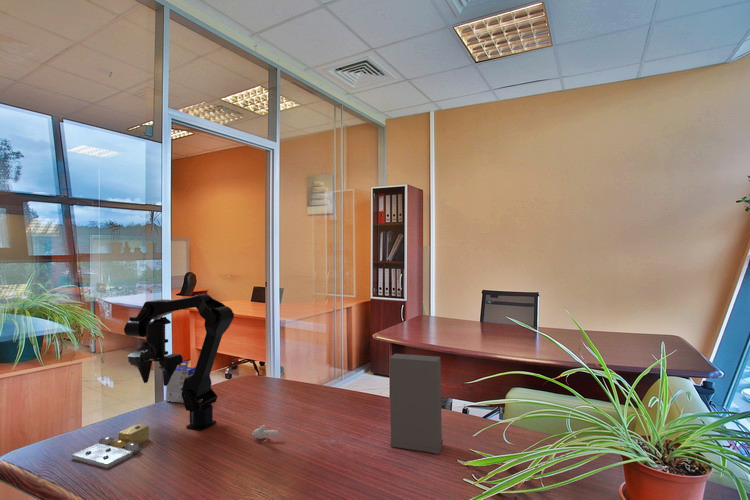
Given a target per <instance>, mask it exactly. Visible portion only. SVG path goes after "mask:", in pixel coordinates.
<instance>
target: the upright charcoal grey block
mask: <svg viewBox="0 0 750 500" xmlns="http://www.w3.org/2000/svg"><path fill="white" fill-rule="evenodd" d="M441 365H442V364H441V356H433V355H421V354H420V355H419V354H408V353H407V354H406V353H394V354H392V355H391V356H390V357H389V397H390V401H389V402H390V403H389V404H390V407H389V408H390V441H389V442H390V443H389V445H390V447H391V448H399V449H407V450H410V451H412V450H413V451H419V452H426V453H431V454H434V455H439V454H440V453H441V451H442V447H443V444H444V439H443V436H442V435H443V432H442V431H443V430H442V427H443V426H442V425H443V424H442V379H441V378H442V375H441V374H442V371H441V367H442V366H441Z"/></svg>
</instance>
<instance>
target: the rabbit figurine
mask: <svg viewBox="0 0 750 500" xmlns="http://www.w3.org/2000/svg"><path fill="white" fill-rule="evenodd" d="M279 433H280V432H279V431H278V430H276V429H268V430H266V424H262V425H260V426H259V427H258V428H256V429H254V431H253V432H251V433H250V435H251V436H253V437H255V438H257V439H259V440H262V439H265V438H266V437H267V436H269V437H273V436H277V435H278V434H279ZM267 441H268V438H267V439H265V440H263V441H262V442H263V443H264V442H267Z"/></svg>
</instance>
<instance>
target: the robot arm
mask: <svg viewBox="0 0 750 500" xmlns="http://www.w3.org/2000/svg"><path fill="white" fill-rule="evenodd" d="M192 308H193V309H194V308H195V309H197V311H198V314H199V316H200V317H201V318H203V319H204V325H203V326H204V329H205V332H206V333H205V336H204V339H203V342H202V346H201V349H200V352H199V356H198V359H197V362H196V365H195V367H196V368H195V371H194V374H193V375H192V376H190V377H187V378H185V380H184V383H183V387H182V389H181V391H182V394H181V395H182V398H183V401H184V403H183V404H184V408H185V410H186V411H189V424H187V425H186V429H192V430H197V431H203V430H205V429H207V428H209V427H211V426H213V425H214V424H216V423H217V420H214V419H213V410H214V409H213V404H214V403H216V402H217V399H218V395H217V393H216V392H215V391H214V390H213V389H212V379H211V371H212V369H213V365H214V363H215V359H216V356H217V353H218V350H219V347H220V343H221V341H222V340H221V339H222V336H224V334H225V333H226V331H227V330H228V329H229V328H230V326H231V324H232V322H233V320H234V317H235V314H234V313H235V312H233V310H232V308H231V307H229V306H227V305H225V304H224V303H222V302H221V301H220V300H219V301H218V300H216V299H214V298H213V297H212V296H211V295H209V294H207V293H203V294H197V295H194V296H189V297H184V298H177V299H174V300H173V299H156V300H155V299H154V300H148V301H145V302H144V303H143V305H142V308H140V311H139V312H138V315H137V316H136V315H135V316H129V320H128V321H127V322H126V323H125V325H124V328H123V332H124V334H125V335H126V336H127V337H134V338H137V337H138V338H145V341H142V343H141V347H139V348H137V349H135V350H134V351H133V352H130V353H129V354H127V359H128V363H129V364H130V365H131V366H134V367H135V368H137V369H138V372H139V373H140V376H141V379H142V382H143V383H144V384H147V383H148V381H149V379H150V374H151V370H152V364H153V362H156V363H157V362H158V364H159V365H160V366H158V368H159V370H161V371H162V383H163V386H164V387H166V385H168V383H169V381H170V379H171V377H172V375H173V373H174V371H175V369H176V368H177V367H178V366H179V365H180V363H181V364H184V363H183V361H184V357H183V355H182V354H179V353H172V354H171V353H170V354H169V351H168V350H166V343H169V339H167V338H166V325H168V324H171V323H172V322H171V320H169V319H168V318H167V315H170V314H172V313H173V312H176V311H182V310H186V309H192Z"/></svg>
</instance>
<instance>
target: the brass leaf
mask: <svg viewBox="0 0 750 500" xmlns="http://www.w3.org/2000/svg"><path fill="white" fill-rule="evenodd" d="M149 429H150V426H149V425H146V424H141V423H136V424H135V425H132V426H130V427H128V428H125V429H123V430H121V431H119V432H118V439H116V438H114V439H115V440H113V441H112V442H111V444H110V446H114V447H118V448H122V449H124V447H125V445H126V444H127V443H129V442H132V443H136V444H140V445H141V444H142V443H144V442H145V441H148V440H150V430H149Z"/></svg>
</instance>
